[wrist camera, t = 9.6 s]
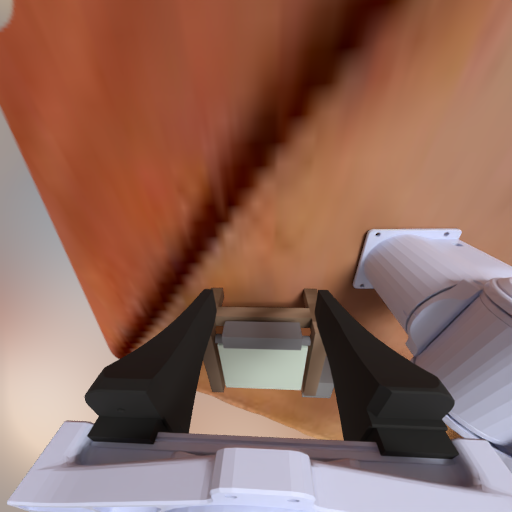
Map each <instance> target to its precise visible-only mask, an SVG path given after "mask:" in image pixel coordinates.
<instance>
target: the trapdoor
mask: <svg viewBox="0 0 512 512" xmlns="http://www.w3.org/2000/svg"><path fill="white" fill-rule="evenodd" d="M215 343H218V350H219V355H220V360H221V365H222V370H223V374H224V379H225V384H226V387H234V388H260V389H285V390H301V386H302V380H303V374H304V369H305V363H306V357H307V351H308V346H310V344H311V341H310V336H302V333H301V327H300V323H298V322H245V321H225V325H224V329H223V333H222V334H216V336H215Z"/></svg>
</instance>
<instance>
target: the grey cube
mask: <svg viewBox="0 0 512 512" xmlns="http://www.w3.org/2000/svg"><path fill="white" fill-rule="evenodd" d="M333 388H334V384H333V379H332V374H331V370H330V365H329V362H328V358H327V356H326V357H325V361H324V365H323V369H322V373H321V377H320V381H319V385H318V388H317V392H316V396H304V395H303V388H302V386H301V392H302V397H316V398H330V397H331V394H332V391H333Z"/></svg>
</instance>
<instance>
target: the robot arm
mask: <svg viewBox="0 0 512 512" xmlns="http://www.w3.org/2000/svg"><path fill="white" fill-rule="evenodd" d="M376 233H379V234H378V235H376ZM444 233H446V234H444ZM461 233H462V232H461V230H459V229H372V230H369V231H368V233H367V236H366V239H365V243H364V246H363V250H362V253H361V257H360V260H359V264H358V268H357V271H356V275H355V278H354V282H353V286H354V288H360V289H375V290H376V292H377V293H378V294H379V296H380V297H381V299H382V300H383V301H384V303H385V304H386V305H387V307H388V308H389V310H390V311H391V312H392V314H393V315H394V316H395V318H396V319H397V320H398V322H399V323H400V325H401V326H402V327H403V329H404V330H405V331H406V333H407V334H408V340H407V342H406V343H405V344H406V346H407V347H408V348H409V350H410V351H411V353H412V354H413V356H414V357H413V358H412V359H411V360H410V361H409V360H408V359H406V358H404V357H403V356H401V355H400V354H398V353H397V352H395V351H394V350H392V349H391V348H389V347H388V346H387V345H385V344H384V343H382V342H381V341H380V340H378V339H377V338H376V337H374V336H373V335H372V334H371V333H370V332H368V331H367V330H366V329H365V328H364V327H362V326H361V325H360V324H359V323H358V322H357V321H356V320H355V319H354V318H353V317H352V316H351V315H350V314H349V313H348V312H347V311H346V310H345V309H344V308H343V307H342V306H341V305H340V304H339V302H338V301H337V300H336V299H335V298H334V297H333V296H332V295H331V293H330V292H329V291H328V290H318V294H317V300H316V306H315V318H316V323H317V327H318V330H319V333H320V337H321V340H322V343H323V346H324V349H325V352H326V355H327V358H328V362H329V365H330V370H331V374H332V379H333V384H334V388H335V393H336V398H337V404H338V409H339V414H340V420H341V426H342V432H343V438H344V441H338V440H316V439H295V438H294V439H293V438H273V437H252V436H229V435H207V434H189V428H190V422H191V416H192V410H193V405H194V399H195V394H196V389H197V384H198V379H199V375H200V370H201V366H202V361H203V358H204V354H205V351H206V348H207V345H208V342H209V339H210V336H211V333H212V330H213V327H214V323H215V318H216V313H217V309H216V303H215V298H214V292H213V289H204V290H203V291H202V292H201V293H200V295H199V296H198V297H197V298H196V299H195V300H194V301H193V302H192V303H191V305H190V306H189V307H188V308H187V309H186V310H185V311H184V312H183V313H182V314H181V315H180V316H179V317H178V318H177V319H176V320H175V321H173V322H172V323H171V324H170V325H169V326H168V327H167V328H165V329H164V330H163V331H162V332H161V333H159V334H158V335H156V336H155V337H154V338H152V339H151V340H150V341H148V342H147V343H145V344H144V345H142V346H141V347H139V348H138V349H136V350H135V351H133V352H131V353H130V354H128V355H126V356H125V357H123V358H121V359H119V360H118V361H116V362H114V363H112V364H110V365H109V366H107V367H105V368H104V369H103V370H102V372H101V373H100V375H99V376H98V377H97V379H96V380H95V382H94V383H93V384H92V386H91V387H90V389H89V390H88V392H87V393H86V395H85V401H86V403H87V404H88V405H89V406H90V407H91V408H92V409H93V410H94V411H95V413H96V414H97V415H99V417H98V419H97V420H96V422H95V424H93V423H91V422H86V421H65V422H64V423H63V424H62V426H61V427H60V429H59V430H58V431H57V433H56V434H55V436H54V437H53V439H52V440H51V441H50V442H49V444H48V445H47V447H46V448H45V449H44V451H43V452H42V454H41V455H40V456H39V458H38V459H37V461H36V462H35V463H34V465H33V466H32V467H31V469H30V470H29V472H28V473H27V474H26V476H25V477H24V479H23V480H22V481H21V483H20V484H19V486H18V487H17V488H16V490H15V491H14V492H13V494H12V495H11V497H10V498H9V499H8V501H7V504H8V505H10V506H14V507H17V508H20V509H23V510H26V511H29V512H512V266H510V265H508V264H506V263H504V262H502V261H500V260H498V259H496V258H494V257H492V256H490V255H488V254H486V253H484V252H482V251H480V250H478V249H476V248H474V247H472V246H470V245H469V244H467V243H465V242H463V241H461V240H459V237H460V235H461ZM361 284H362V285H361ZM445 424H447V425H448V426H449V427H450V428H451V429H453V430H454V431H455V432H457V433H458V434H459V435H461V436H462V437H464V438H455V439H451V440H450V438H449V437H448V435H447V433H446V432H445V431H447V430H448V429H447V426H446V425H445Z"/></svg>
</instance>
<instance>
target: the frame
mask: <svg viewBox="0 0 512 512" xmlns="http://www.w3.org/2000/svg"><path fill="white" fill-rule="evenodd" d="M211 289H213V292H214V298H215V303H216V309H217V313H216V318H215V323H214V327H213V330H212V333H211V336H210V339H209V342H208V345H207V348H206V351H205V354H204V358H203V360H204V364H205V368H206V371H207V375H208V378H209V382H210V385H211V389H212V392H224V387H225V379H224V374H223V370H222V365H221V360H220V355H219V350H218V343H215V336H216V331H215V328H216V326H224V325H225V321H245V322H298V323H300V327H301V328H310V330H311V334H310V341H311V344H310V346H308V351H307V357H306V363H305V369H304V374H303V380H302V388H303V395H304V396H316V392H317V388H318V385H319V381H320V377H321V373H322V369H323V365H324V361H325V357H326V352H325V349H324V346H323V343H322V340H321V337H320V333H319V330H318V327H317V323H316V318H315V306H316V300H317V294H318V292H317V289H304V295H303V299H304V304H305V308H265V307H222V303H223V299H224V292H223V288H211Z"/></svg>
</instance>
